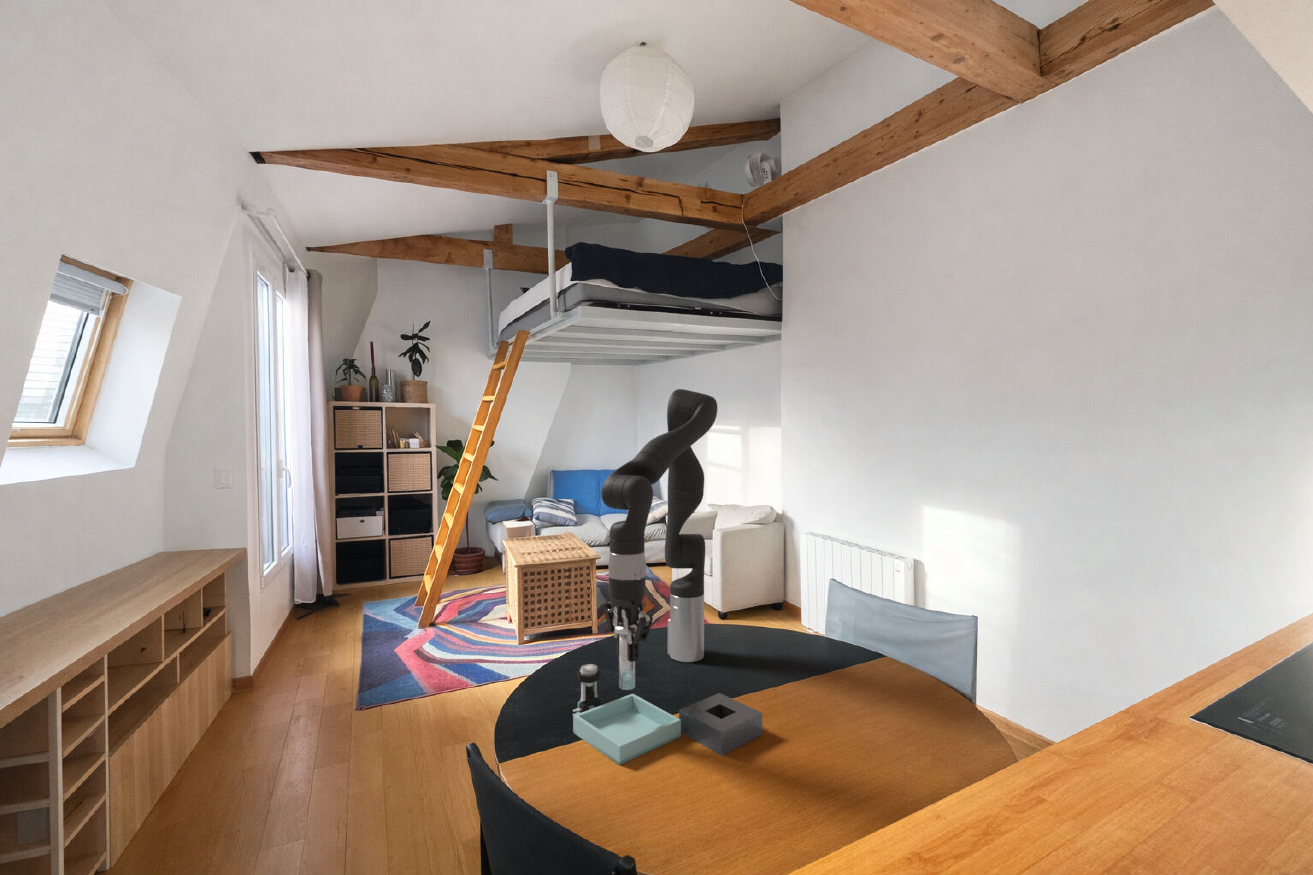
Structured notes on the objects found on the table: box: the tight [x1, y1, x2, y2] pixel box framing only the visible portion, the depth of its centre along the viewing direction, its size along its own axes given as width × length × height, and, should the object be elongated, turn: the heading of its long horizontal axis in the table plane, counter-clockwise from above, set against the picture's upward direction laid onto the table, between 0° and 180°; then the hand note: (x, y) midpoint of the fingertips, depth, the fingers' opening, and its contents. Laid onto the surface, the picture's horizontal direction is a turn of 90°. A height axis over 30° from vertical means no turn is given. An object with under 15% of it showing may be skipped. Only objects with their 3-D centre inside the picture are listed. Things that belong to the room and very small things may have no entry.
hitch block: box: [678, 692, 763, 756], centre depth 125 cm, size 12×12×4 cm
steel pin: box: [615, 624, 636, 691], centre depth 124 cm, size 5×5×12 cm
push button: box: [572, 663, 602, 717], centre depth 134 cm, size 7×5×10 cm
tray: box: [572, 693, 682, 766], centre depth 125 cm, size 16×16×4 cm
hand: (627, 657), depth 124 cm, fingers closed on steel pin, 3 cm apart
